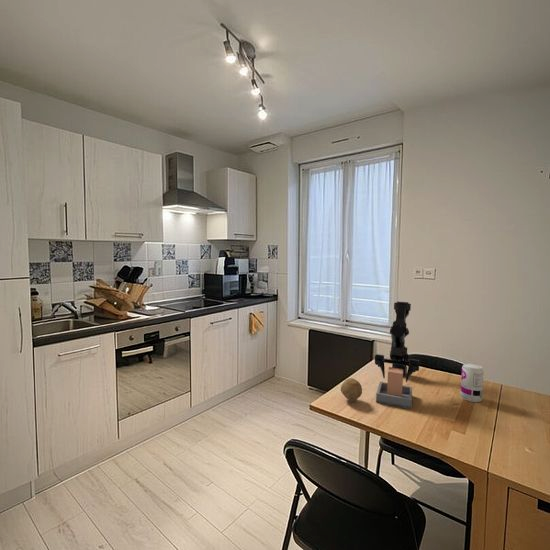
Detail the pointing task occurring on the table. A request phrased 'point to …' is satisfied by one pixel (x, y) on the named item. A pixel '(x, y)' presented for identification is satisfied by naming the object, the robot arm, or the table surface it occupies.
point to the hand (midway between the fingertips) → (395, 380)
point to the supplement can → (472, 382)
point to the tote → (394, 400)
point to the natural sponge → (351, 389)
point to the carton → (395, 382)
